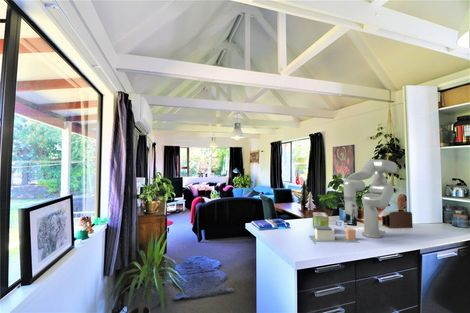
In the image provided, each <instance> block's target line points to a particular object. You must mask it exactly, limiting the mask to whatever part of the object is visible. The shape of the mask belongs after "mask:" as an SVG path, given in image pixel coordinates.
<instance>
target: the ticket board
mask: <svg viewBox="0 0 470 313" xmlns="http://www.w3.org/2000/svg"><path fill="white" fill-rule="evenodd" d="M308 237H309V239H310V240H311V241H312V243H314V244H315V245H316V244H317V243H345V244H346V243H347V244H348V243H351V244H352V243H353V244H355V243H356V244H357V243H358V244H360V241H358V240H357V239H356V240H348V239H346V235H335V229H334V228H333V227H331V226H315V232H314V235H308Z"/></svg>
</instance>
